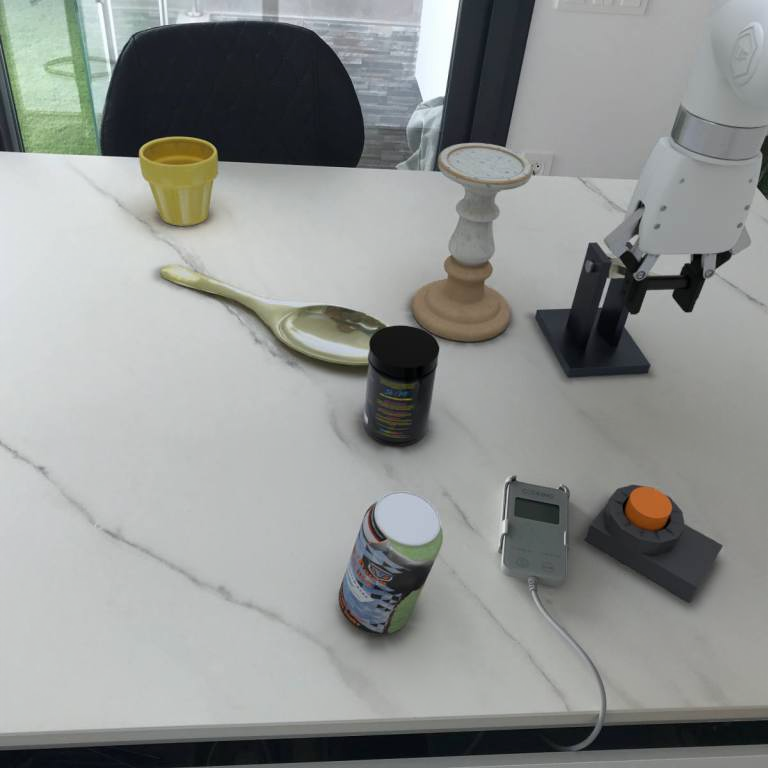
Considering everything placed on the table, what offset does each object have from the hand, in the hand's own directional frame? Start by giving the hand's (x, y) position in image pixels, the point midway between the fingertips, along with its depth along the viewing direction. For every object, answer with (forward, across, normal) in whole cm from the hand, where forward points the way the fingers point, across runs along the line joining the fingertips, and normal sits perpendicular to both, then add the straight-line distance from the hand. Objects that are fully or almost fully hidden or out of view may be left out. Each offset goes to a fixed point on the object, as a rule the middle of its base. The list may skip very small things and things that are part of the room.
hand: (655, 304), depth 79 cm
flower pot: (+13, +49, -44) cm, 67 cm away
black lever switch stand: (+13, 0, -10) cm, 16 cm away
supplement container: (+13, +26, +2) cm, 29 cm away
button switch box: (+12, +6, +21) cm, 25 cm away
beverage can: (+13, +31, +24) cm, 41 cm away
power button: (+9, +7, +20) cm, 23 cm away
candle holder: (+13, +14, -17) cm, 26 cm away
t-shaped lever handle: (+1, 0, -5) cm, 5 cm away
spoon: (+13, +38, -18) cm, 44 cm away
